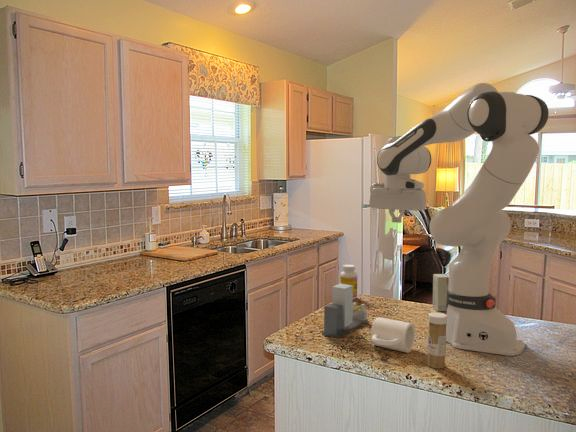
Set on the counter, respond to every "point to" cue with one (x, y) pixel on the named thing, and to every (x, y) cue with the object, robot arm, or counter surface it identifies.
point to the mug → (393, 334)
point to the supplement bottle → (349, 278)
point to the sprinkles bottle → (437, 340)
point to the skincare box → (440, 291)
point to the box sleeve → (344, 301)
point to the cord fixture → (335, 320)
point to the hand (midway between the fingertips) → (396, 222)
